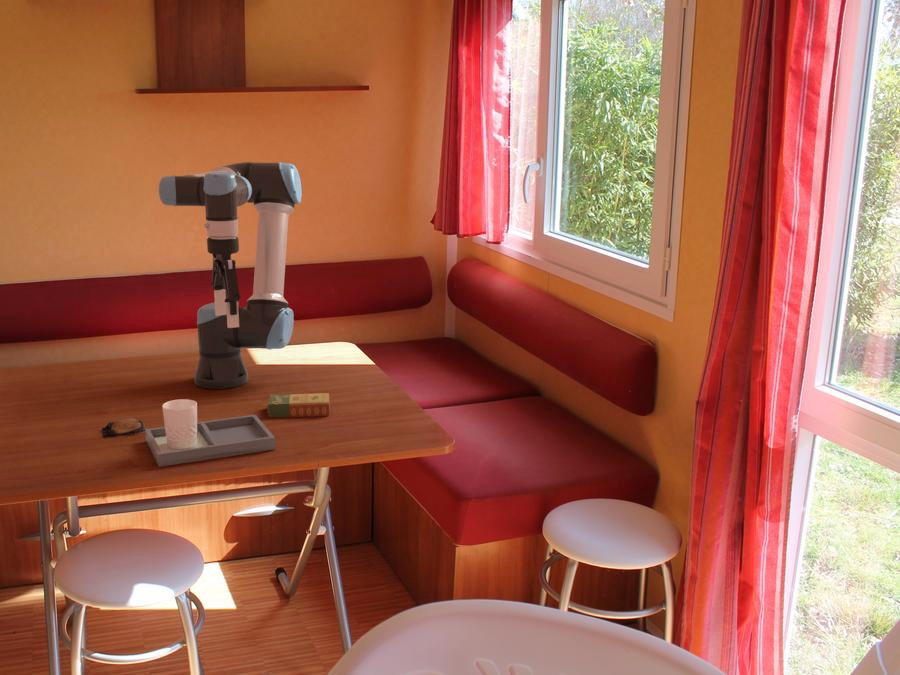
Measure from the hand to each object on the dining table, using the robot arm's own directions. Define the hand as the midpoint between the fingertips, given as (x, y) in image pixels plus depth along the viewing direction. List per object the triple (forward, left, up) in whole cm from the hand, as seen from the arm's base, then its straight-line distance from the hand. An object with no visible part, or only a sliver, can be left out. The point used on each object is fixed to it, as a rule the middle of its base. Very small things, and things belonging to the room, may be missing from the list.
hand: (227, 321), depth 247 cm
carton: (-1, +18, -27) cm, 32 cm away
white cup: (+15, -15, -26) cm, 33 cm away
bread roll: (-4, -26, -27) cm, 38 cm away
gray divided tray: (+15, -9, -26) cm, 32 cm away
